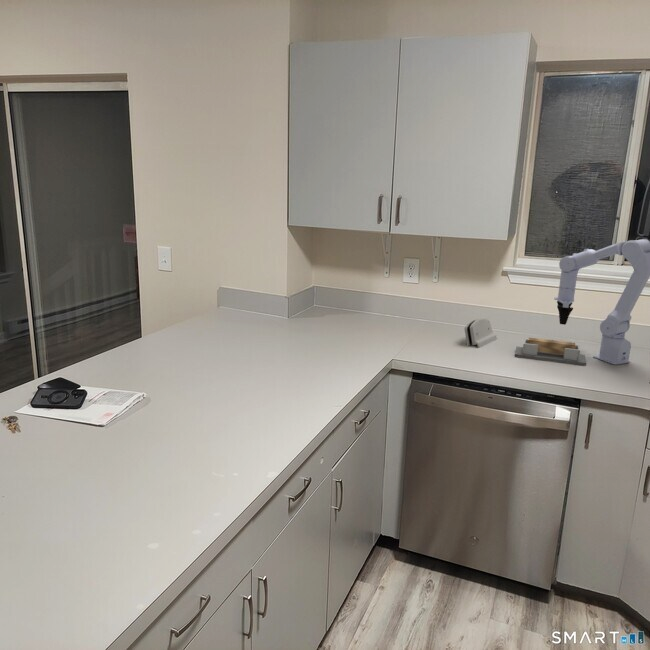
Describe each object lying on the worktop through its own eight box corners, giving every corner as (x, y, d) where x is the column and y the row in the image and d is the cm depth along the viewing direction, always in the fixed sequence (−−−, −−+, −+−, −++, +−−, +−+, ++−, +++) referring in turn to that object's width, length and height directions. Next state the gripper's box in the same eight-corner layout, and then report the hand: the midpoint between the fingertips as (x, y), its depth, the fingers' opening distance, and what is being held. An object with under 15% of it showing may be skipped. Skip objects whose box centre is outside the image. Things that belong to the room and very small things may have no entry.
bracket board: (584, 357, 215) (586, 344, 214) (586, 365, 206) (587, 352, 205) (516, 348, 223) (517, 336, 222) (514, 356, 214) (516, 344, 213)
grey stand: (478, 348, 223) (472, 322, 223) (467, 349, 226) (461, 324, 226) (497, 339, 236) (491, 314, 235) (486, 340, 239) (481, 316, 238)
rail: (573, 353, 213) (575, 342, 212) (573, 355, 210) (575, 345, 209) (527, 347, 218) (528, 337, 217) (527, 350, 215) (528, 339, 214)
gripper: (555, 283, 231) (551, 316, 235) (556, 290, 218) (551, 325, 222) (575, 284, 229) (570, 318, 233) (576, 291, 216) (571, 327, 220)
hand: (562, 321), depth 227 cm, fingers open, 7 cm apart
